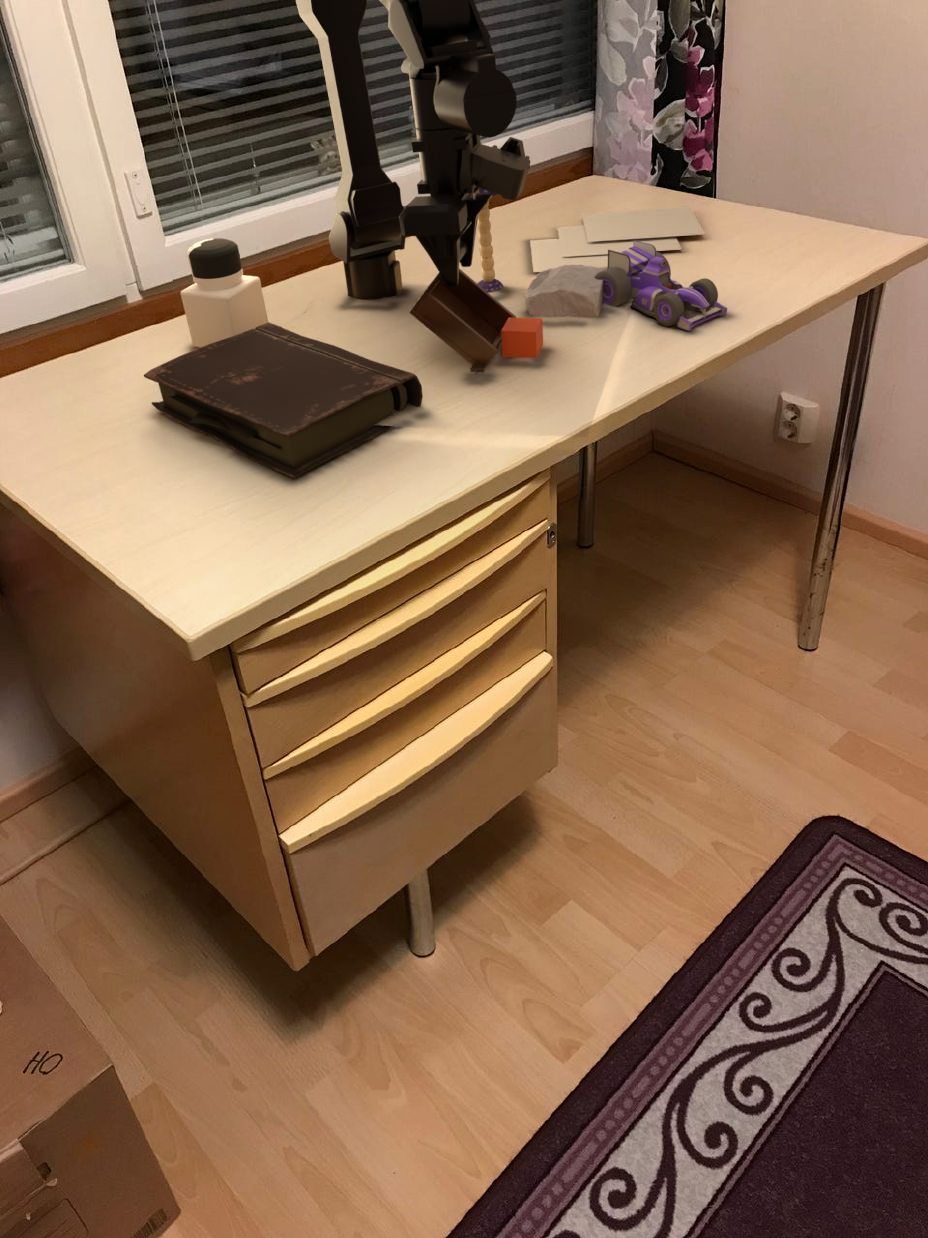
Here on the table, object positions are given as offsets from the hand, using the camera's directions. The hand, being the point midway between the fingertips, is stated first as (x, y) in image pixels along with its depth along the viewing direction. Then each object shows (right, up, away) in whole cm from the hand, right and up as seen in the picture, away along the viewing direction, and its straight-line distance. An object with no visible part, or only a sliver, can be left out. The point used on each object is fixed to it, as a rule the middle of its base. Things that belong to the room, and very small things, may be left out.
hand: (460, 275), depth 112 cm
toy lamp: (+4, +5, +21) cm, 22 cm away
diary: (-19, -16, -3) cm, 25 cm away
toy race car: (+25, 0, +13) cm, 28 cm away
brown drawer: (-1, -5, +4) cm, 6 cm away
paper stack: (+23, +17, +35) cm, 45 cm away
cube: (+7, -5, +2) cm, 9 cm away
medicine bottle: (-29, -3, +15) cm, 33 cm away
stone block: (+13, +1, +16) cm, 21 cm away
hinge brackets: (+4, -8, +5) cm, 10 cm away
